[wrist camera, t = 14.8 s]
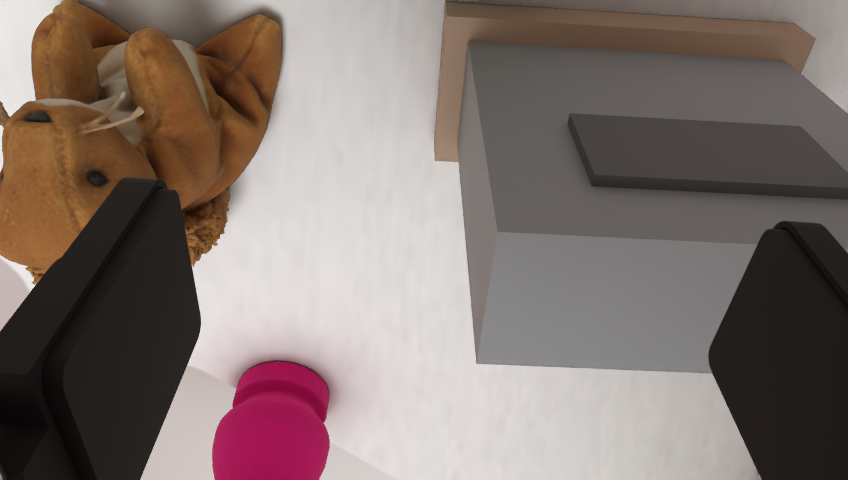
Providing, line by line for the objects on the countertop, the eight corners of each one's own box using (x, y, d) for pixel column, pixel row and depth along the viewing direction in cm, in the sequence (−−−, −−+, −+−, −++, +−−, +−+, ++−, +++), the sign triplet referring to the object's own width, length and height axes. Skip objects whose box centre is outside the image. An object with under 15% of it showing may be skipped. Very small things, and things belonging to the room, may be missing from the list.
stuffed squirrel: (287, 1, 29) (210, 142, 19) (269, 245, 37) (208, 439, 27) (54, -47, 28) (-171, 75, 17) (88, 217, 36) (-49, 408, 26)
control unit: (794, 23, 30) (1077, 228, 17) (740, 157, 34) (934, 403, 21) (445, 1, 29) (463, 197, 16) (434, 140, 33) (441, 384, 20)
